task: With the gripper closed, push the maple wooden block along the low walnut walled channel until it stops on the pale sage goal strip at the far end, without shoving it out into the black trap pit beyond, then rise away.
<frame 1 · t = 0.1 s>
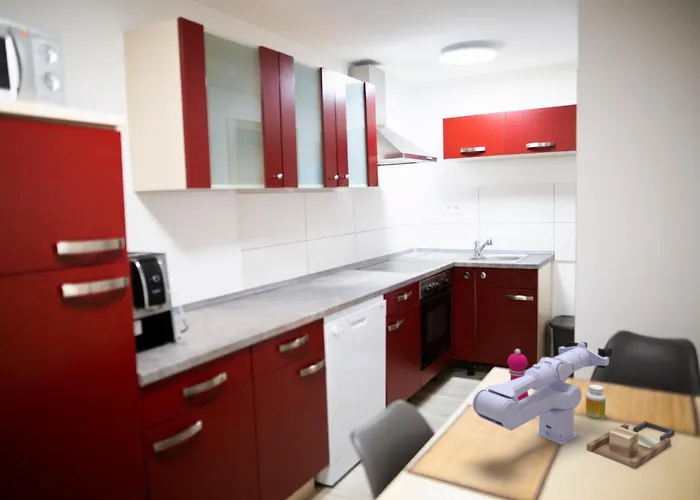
hand: (598, 348, 159), 22 cm above the table, tool horizontal, fingers open, 7 cm apart
trap pit: (653, 434, 150), on the table
supplement bottle: (595, 418, 162), on the table
pepper mill: (516, 411, 168), on the table
maple block: (623, 450, 140), resting on walled channel
walled channel: (628, 448, 142), on the table
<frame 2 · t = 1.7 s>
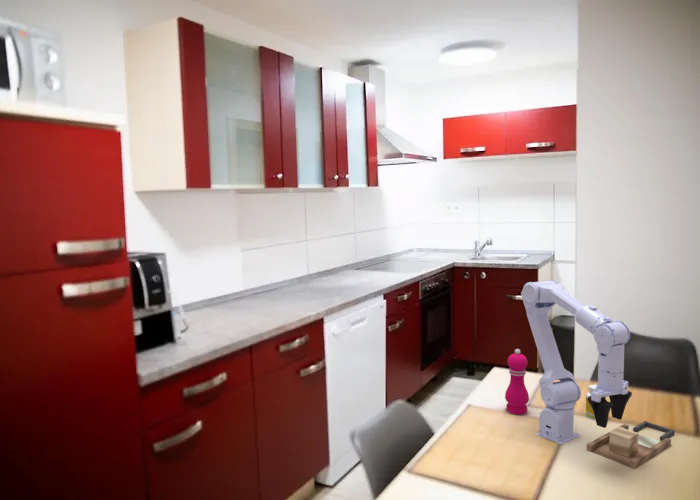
hand: (609, 422, 134), 10 cm above the table, tool pointing down, fingers open, 7 cm apart
nothing on the table moved.
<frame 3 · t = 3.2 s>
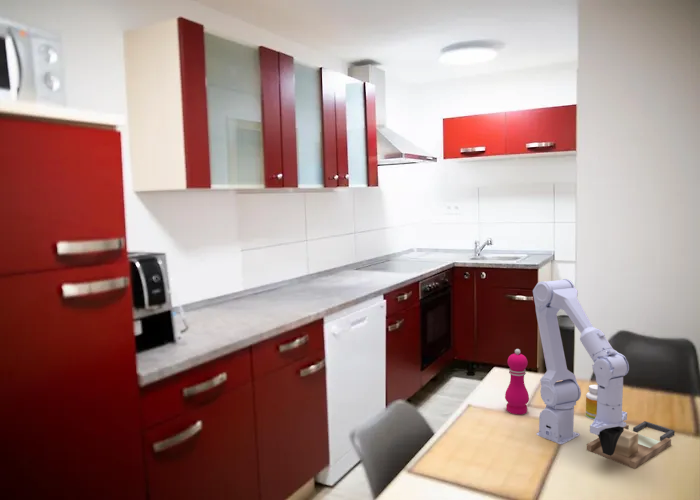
hand: (608, 453, 135), 2 cm above the table, tool pointing down, fingers closed
nothing on the table moved.
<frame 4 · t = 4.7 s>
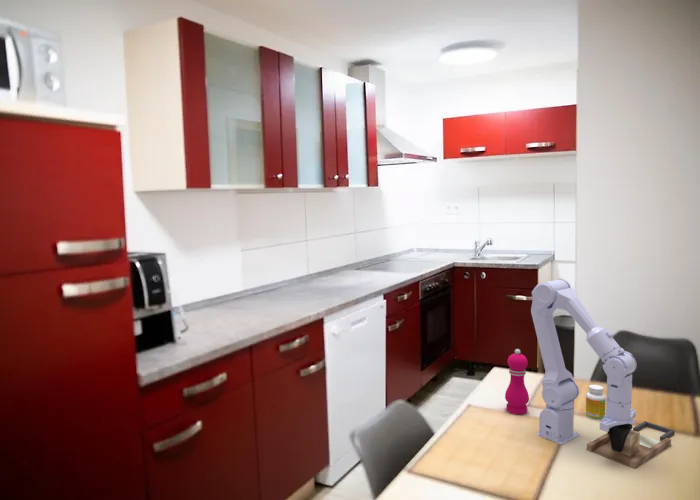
hand: (617, 450, 138), 2 cm above the table, tool pointing down, fingers closed
maple block: (624, 450, 140), resting on walled channel, touching gripper
everything else where it was.
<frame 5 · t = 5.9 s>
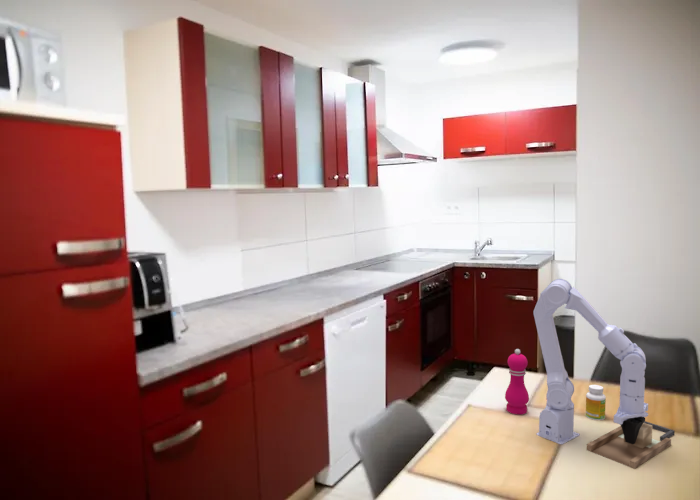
hand: (630, 442, 142), 2 cm above the table, tool pointing down, fingers closed
maple block: (637, 442, 144), resting on walled channel, touching gripper
everything else where it was.
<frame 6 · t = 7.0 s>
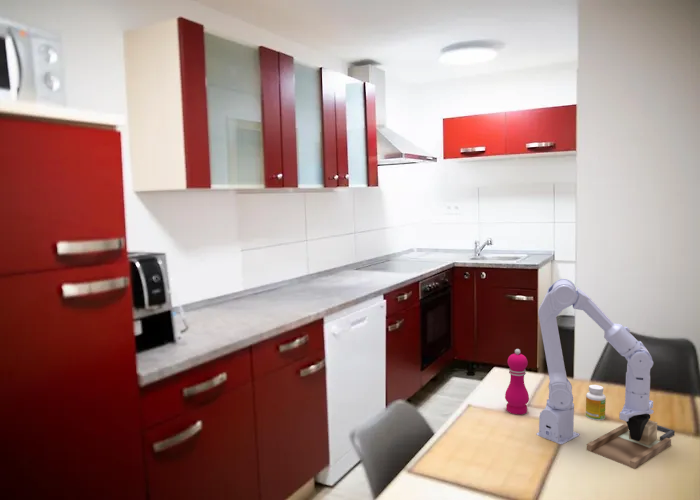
hand: (635, 439, 143), 2 cm above the table, tool pointing down, fingers closed
maple block: (642, 439, 146), resting on walled channel, touching gripper
everything else where it was.
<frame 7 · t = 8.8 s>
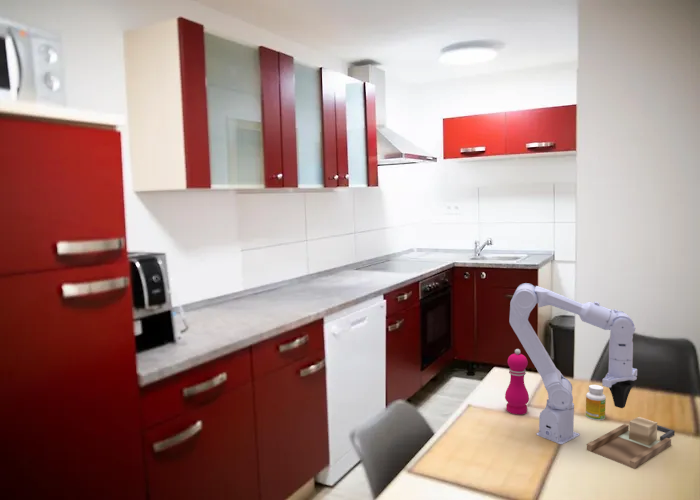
hand: (619, 406, 144), 10 cm above the table, tool pointing down, fingers closed
maple block: (642, 439, 146), resting on walled channel
everything else where it was.
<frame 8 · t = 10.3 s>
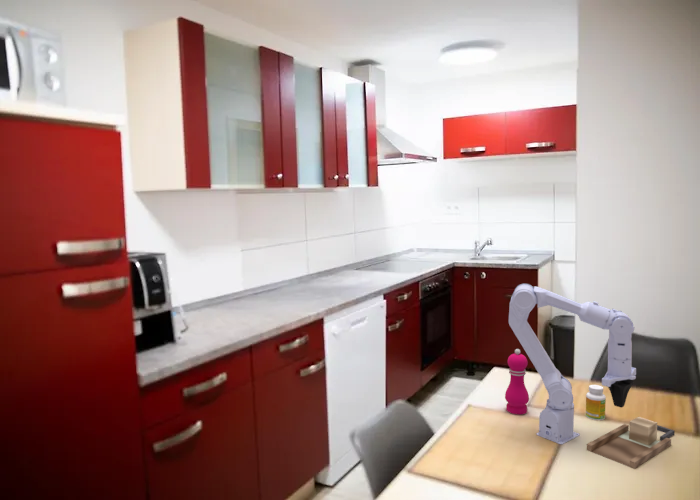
hand: (619, 405, 144), 10 cm above the table, tool pointing down, fingers closed
nothing on the table moved.
at the end: maple block 1.1 cm from the target spot on the walled channel, point 0.4 cm above the walled channel's base; maple block touching walled channel; maple block tilted 0° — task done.
